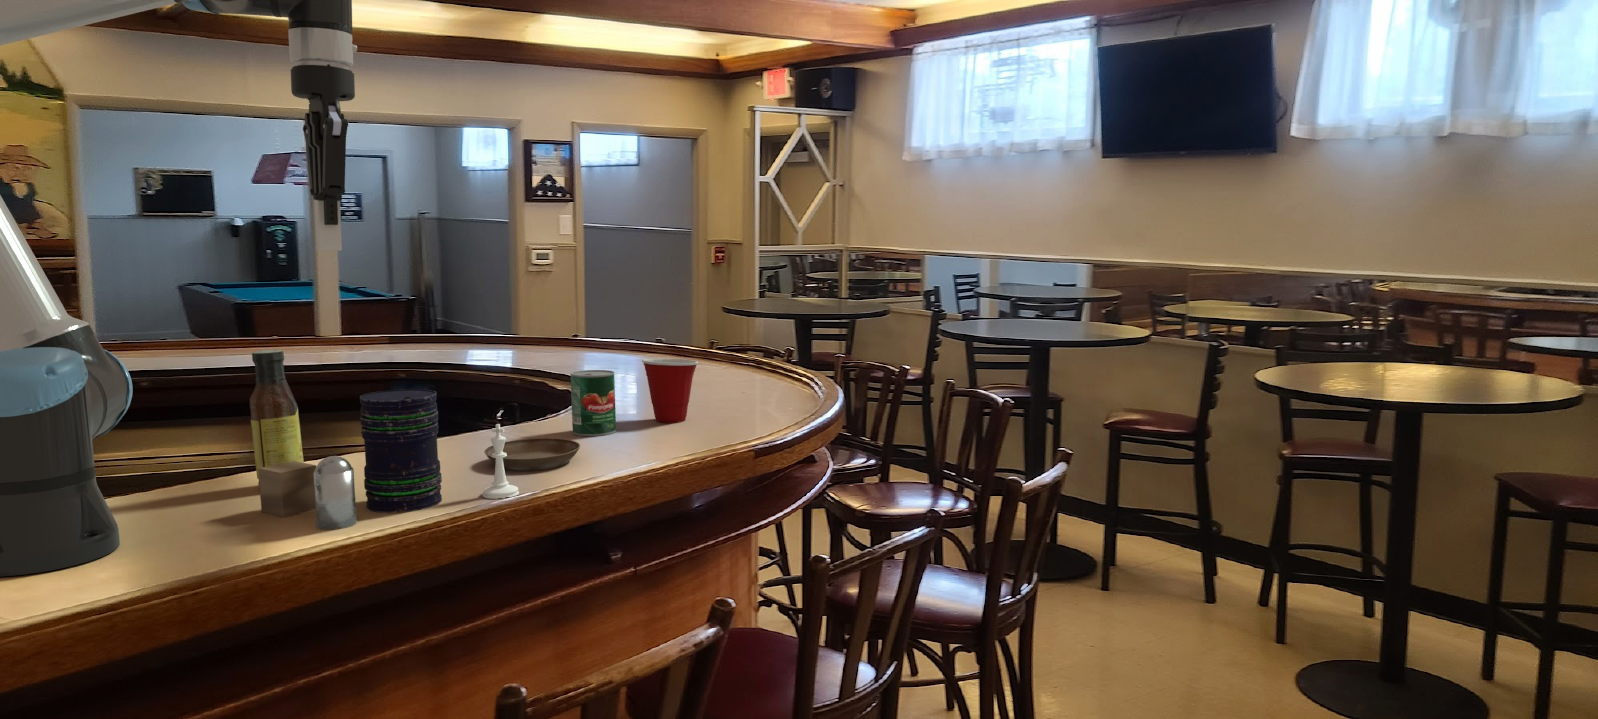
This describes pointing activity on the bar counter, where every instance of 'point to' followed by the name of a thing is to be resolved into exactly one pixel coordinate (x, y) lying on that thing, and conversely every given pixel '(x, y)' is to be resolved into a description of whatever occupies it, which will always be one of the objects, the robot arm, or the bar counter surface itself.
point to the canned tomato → (593, 402)
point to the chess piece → (499, 470)
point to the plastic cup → (670, 387)
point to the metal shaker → (334, 494)
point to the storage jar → (401, 450)
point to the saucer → (536, 453)
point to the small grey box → (287, 489)
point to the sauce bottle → (273, 413)
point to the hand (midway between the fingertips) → (329, 250)
